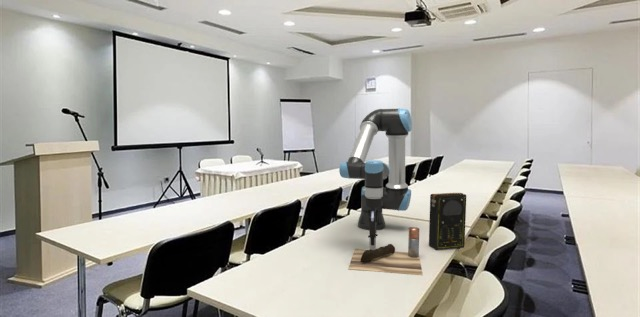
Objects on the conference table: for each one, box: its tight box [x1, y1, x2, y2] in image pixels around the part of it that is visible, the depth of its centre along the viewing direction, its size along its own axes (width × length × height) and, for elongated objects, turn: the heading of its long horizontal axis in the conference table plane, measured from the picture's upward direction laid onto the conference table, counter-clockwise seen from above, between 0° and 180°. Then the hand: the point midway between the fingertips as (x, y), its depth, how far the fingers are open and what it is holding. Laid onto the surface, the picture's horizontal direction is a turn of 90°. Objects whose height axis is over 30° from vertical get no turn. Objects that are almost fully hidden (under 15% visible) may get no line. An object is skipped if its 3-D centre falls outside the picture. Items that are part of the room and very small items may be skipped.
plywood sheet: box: [347, 248, 424, 276], centre depth 151 cm, size 24×28×1 cm
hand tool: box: [360, 243, 396, 262], centre depth 154 cm, size 19×4×5 cm, turn 127°
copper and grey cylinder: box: [407, 226, 420, 258], centre depth 156 cm, size 4×4×12 cm
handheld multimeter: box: [428, 192, 467, 251], centre depth 168 cm, size 16×9×25 cm, turn 105°
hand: (372, 251), depth 156 cm, fingers closed
